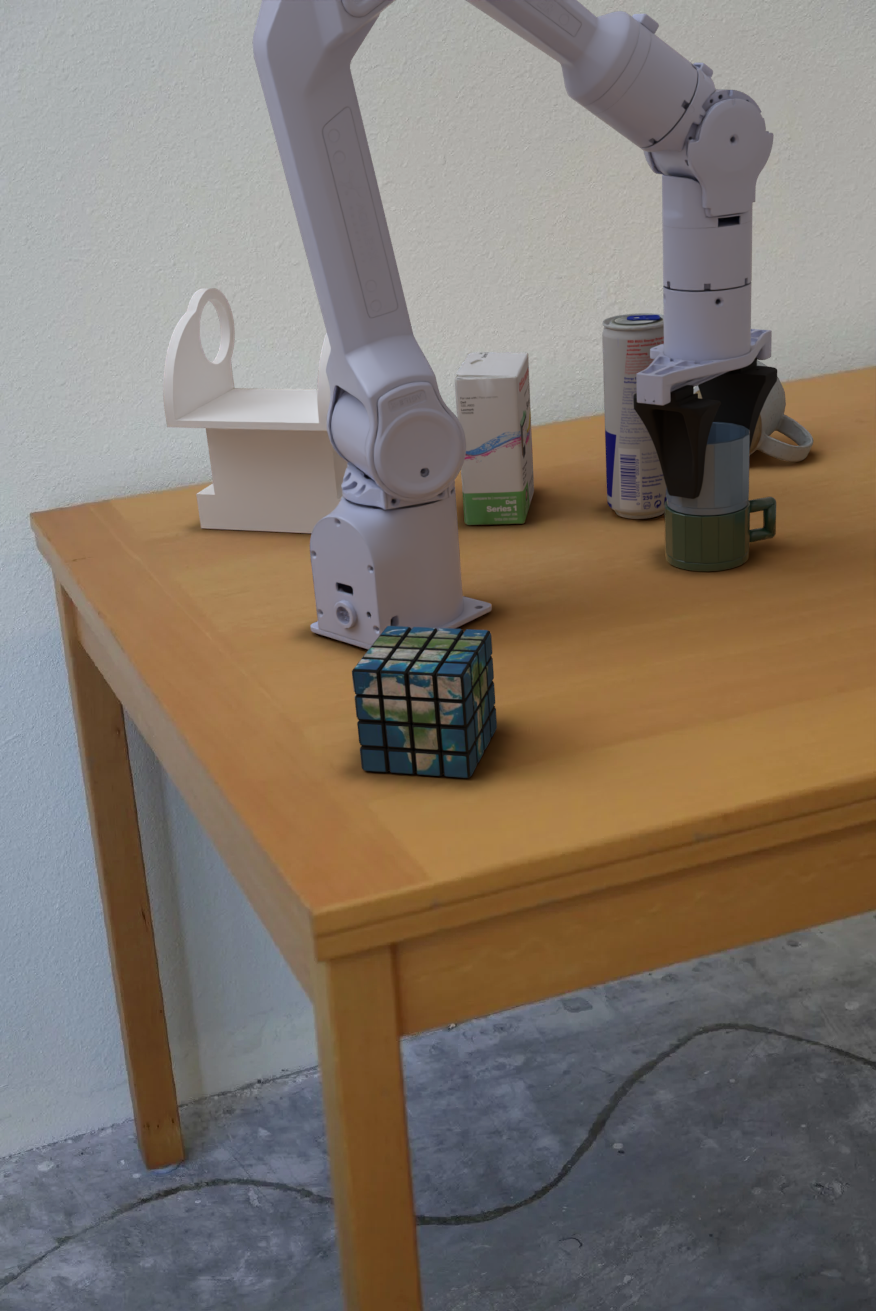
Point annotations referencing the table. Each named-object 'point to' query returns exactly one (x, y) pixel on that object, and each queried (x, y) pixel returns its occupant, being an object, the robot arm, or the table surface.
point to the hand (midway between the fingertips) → (707, 483)
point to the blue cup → (721, 474)
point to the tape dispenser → (252, 433)
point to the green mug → (716, 536)
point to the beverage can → (630, 417)
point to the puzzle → (425, 701)
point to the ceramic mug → (778, 428)
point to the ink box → (495, 437)
